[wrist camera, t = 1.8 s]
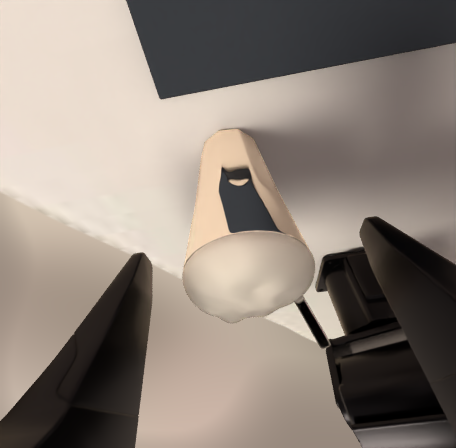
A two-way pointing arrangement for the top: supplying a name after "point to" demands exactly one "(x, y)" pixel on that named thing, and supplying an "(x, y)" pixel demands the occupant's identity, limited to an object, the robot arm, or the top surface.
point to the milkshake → (244, 239)
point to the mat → (277, 37)
